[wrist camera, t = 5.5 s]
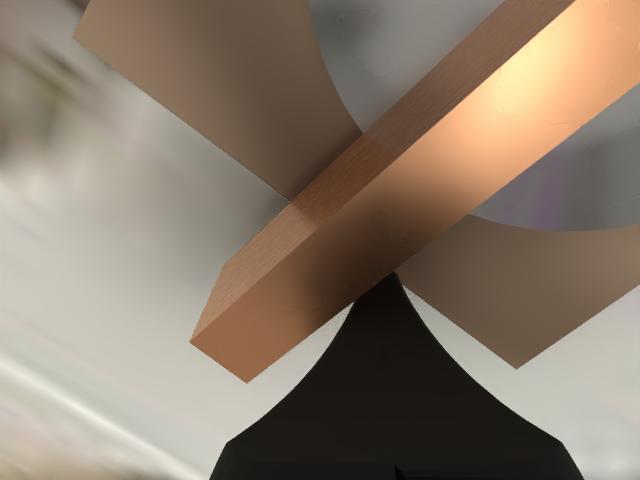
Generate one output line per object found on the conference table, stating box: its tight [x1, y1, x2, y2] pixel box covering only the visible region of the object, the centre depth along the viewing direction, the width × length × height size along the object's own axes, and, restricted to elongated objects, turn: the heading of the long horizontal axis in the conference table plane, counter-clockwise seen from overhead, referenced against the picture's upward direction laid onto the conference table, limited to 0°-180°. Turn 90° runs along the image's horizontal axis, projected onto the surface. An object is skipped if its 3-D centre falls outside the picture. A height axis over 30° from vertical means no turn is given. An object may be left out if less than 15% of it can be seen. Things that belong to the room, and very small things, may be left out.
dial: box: [189, 0, 640, 383], centre depth 9 cm, size 17×12×4 cm
